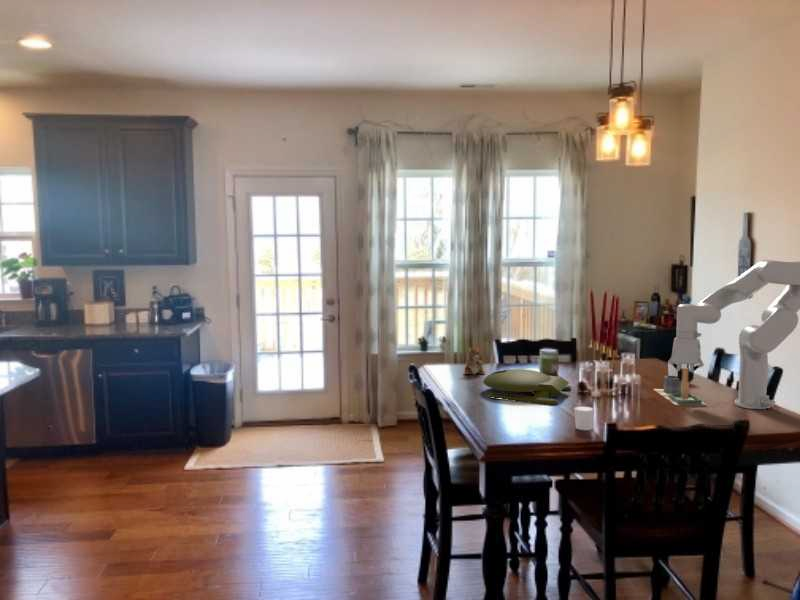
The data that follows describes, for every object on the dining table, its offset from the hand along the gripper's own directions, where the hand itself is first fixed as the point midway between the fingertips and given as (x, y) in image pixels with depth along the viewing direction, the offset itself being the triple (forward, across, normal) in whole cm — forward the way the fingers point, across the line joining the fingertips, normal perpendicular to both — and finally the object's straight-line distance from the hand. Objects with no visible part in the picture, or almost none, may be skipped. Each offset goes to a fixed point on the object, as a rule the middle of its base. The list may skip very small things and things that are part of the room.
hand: (685, 380), depth 254 cm
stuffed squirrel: (+9, +99, -10) cm, 100 cm away
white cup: (+9, +9, -34) cm, 37 cm away
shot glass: (+9, +24, +53) cm, 59 cm away
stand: (+9, +3, -6) cm, 11 cm away
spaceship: (+10, +62, +16) cm, 64 cm away
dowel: (+7, 0, 0) cm, 7 cm away
